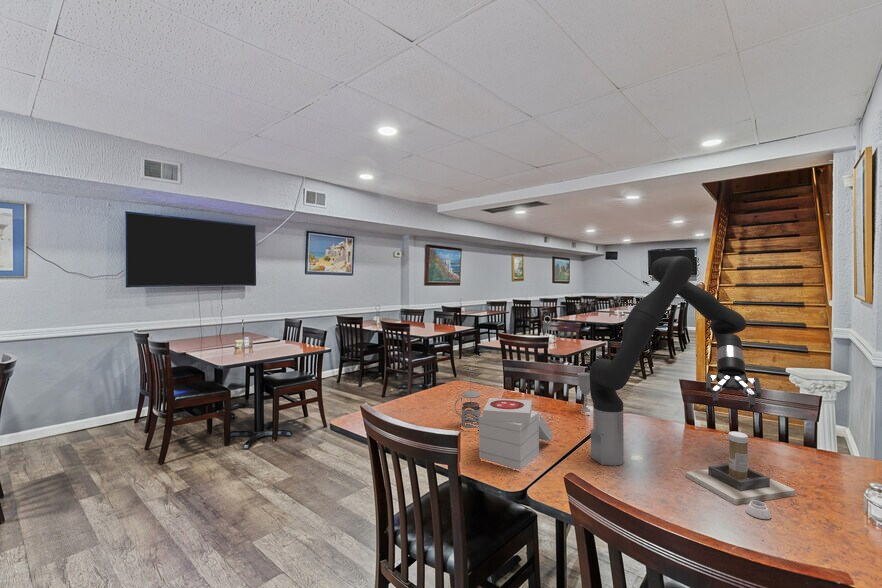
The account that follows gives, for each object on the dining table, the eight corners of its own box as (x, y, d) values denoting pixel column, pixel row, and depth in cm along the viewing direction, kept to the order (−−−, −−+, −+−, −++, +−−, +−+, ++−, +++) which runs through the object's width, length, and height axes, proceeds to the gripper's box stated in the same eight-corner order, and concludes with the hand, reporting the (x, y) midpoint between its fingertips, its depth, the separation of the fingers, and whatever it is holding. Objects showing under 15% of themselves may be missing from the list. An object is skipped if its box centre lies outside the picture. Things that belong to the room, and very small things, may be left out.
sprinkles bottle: (726, 475, 118) (726, 430, 118) (745, 478, 116) (745, 432, 116) (730, 482, 114) (730, 435, 113) (750, 485, 112) (750, 437, 112)
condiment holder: (735, 505, 105) (735, 489, 105) (685, 476, 120) (685, 463, 120) (795, 495, 109) (795, 480, 109) (740, 469, 125) (740, 456, 125)
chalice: (594, 416, 177) (594, 376, 176) (578, 416, 178) (578, 375, 178) (592, 411, 184) (591, 372, 184) (576, 411, 185) (576, 372, 185)
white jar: (742, 508, 104) (749, 518, 99) (742, 496, 104) (749, 506, 99) (766, 511, 102) (774, 522, 97) (766, 500, 102) (774, 510, 97)
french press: (484, 432, 160) (483, 369, 160) (455, 432, 160) (454, 369, 160) (482, 423, 170) (481, 364, 169) (454, 423, 170) (454, 365, 170)
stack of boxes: (557, 444, 146) (557, 395, 146) (523, 476, 122) (522, 417, 122) (510, 434, 157) (509, 388, 157) (469, 461, 133) (469, 407, 133)
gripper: (705, 354, 135) (706, 395, 126) (758, 357, 128) (764, 402, 118) (704, 367, 140) (706, 408, 130) (756, 371, 132) (761, 415, 123)
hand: (733, 405), depth 124 cm, fingers open, 8 cm apart
